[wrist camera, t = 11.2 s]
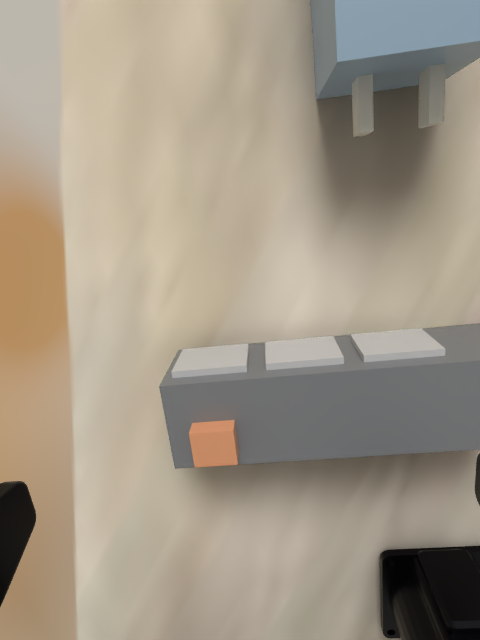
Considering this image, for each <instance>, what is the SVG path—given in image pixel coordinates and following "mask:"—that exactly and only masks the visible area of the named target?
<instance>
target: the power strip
mask: <svg viewBox="0 0 480 640" xmlns="http://www.w3.org/2000/svg"><path fill="white" fill-rule="evenodd" d="M159 388H160V393H161V398H162V403H163V409H164V414H165V419H166V424H167V429H168V435H169V440H170V445H171V450H172V456H173V461H174V466H175V469H177V468H193V467H209V466H225V465H240V464H256V463H272V462H288V461H304V460H320V459H336V458H352V457H368V456H384V455H399V454H415V453H431V452H447V451H463V450H479V449H480V324H470V325H458V326H447V327H436V328H425V329H421V328H416V329H404V330H393V331H382V332H371V333H359V334H350V335H345V336H334V337H333V336H325V337H314V338H303V339H292V340H280V341H269V342H265V343H255V344H249V343H246V344H235V345H224V346H212V347H201V348H190V349H183V350H179V351H178V353H177V354H176V356H175V358H174V360H173V362H172V364H171V366H170V367H169V369H168V371H167V373H166V375H165V377H164V379H163V380H162V382H161V384H160V386H159Z"/></svg>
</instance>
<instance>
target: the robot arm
mask: <svg viewBox="0 0 480 640" xmlns="http://www.w3.org/2000/svg"><path fill="white" fill-rule="evenodd" d="M475 494H476V498H477V501H478V503H479V505H480V454H479V455H478V457H477V463H476V478H475ZM35 522H36V513H35V509H34V505H33V502H32V500H31V496H30V493H29V490H28V487H27V485H26V484H25V483H24V482H22V481H13V482H4V483H1V484H0V606H1V604H2V602H3V600H4V598H5V595H6V593H7V590H8V589H9V586H10V584H11V581H12V579H13V576H14V574H15V572H16V569H17V567H18V564H19V562H20V559H21V557H22V555H23V552H24V550H25V547H26V545H27V543H28V540H29V538H30V535H31V533H32V531H33V528H34V525H35ZM389 559H391V560H389ZM380 579H381V627H382V631H383V634H384V636H385V637H387V638H401V640H480V546H466V547H442V548H419V549H396V550H386V551H384V552H382V554H381V556H380Z"/></svg>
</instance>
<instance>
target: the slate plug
mask: <svg viewBox="0 0 480 640" xmlns="http://www.w3.org/2000/svg"><path fill="white" fill-rule="evenodd" d="M311 14H312V33H313V51H314V69H315V87H316V100H318V99H325V98H333V97H340V96H347V95H352V112H353V137H358V136H365V135H368V134H370V133H371V132H373V131H374V119H373V92H375V91H382V90H389V89H396V88H403V87H410V86H418V85H419V116H418V128H426V127H432V126H435V125H437V124H440V123H442V122H444V96H445V79H447V78H448V77H450V76H452V75H453V74H455V73H456V72H458V71H459V70H461V69H463V68H464V67H466V66H467V65H469V64H470V63H472V62H474V61H475V60H477V59H478V58H480V0H311Z"/></svg>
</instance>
